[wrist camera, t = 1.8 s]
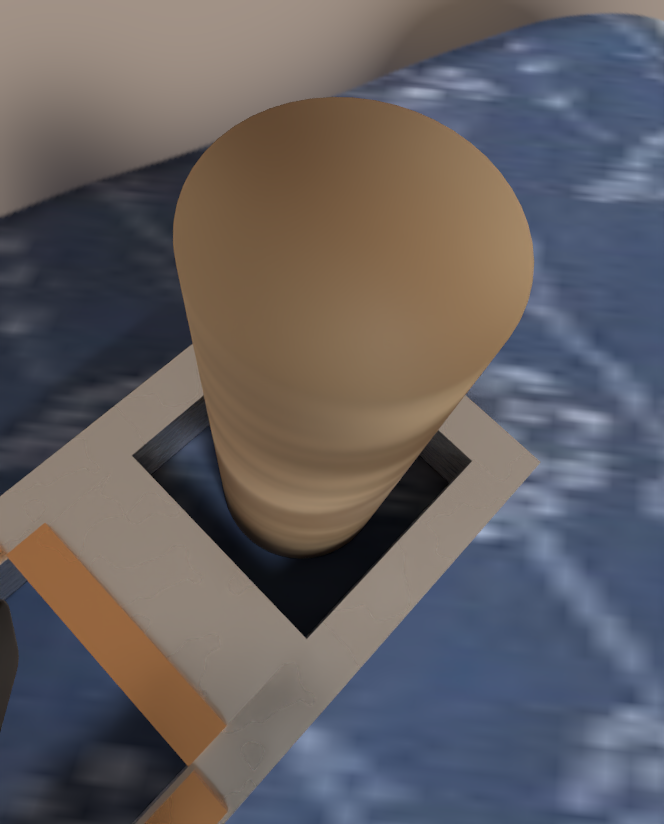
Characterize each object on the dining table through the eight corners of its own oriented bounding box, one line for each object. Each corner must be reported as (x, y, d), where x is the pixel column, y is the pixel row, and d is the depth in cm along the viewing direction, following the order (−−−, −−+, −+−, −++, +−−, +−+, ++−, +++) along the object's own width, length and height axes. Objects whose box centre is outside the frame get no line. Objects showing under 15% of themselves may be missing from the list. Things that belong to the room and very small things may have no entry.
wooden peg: (301, 592, 20) (366, 482, 8) (191, 479, 20) (93, 219, 8) (407, 482, 21) (601, 247, 9) (301, 382, 22) (350, 48, 10)
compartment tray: (-39, 1104, 15) (-104, 1200, 12) (-274, 765, 16) (-374, 785, 14) (510, 483, 22) (544, 459, 19) (302, 293, 23) (307, 248, 21)
